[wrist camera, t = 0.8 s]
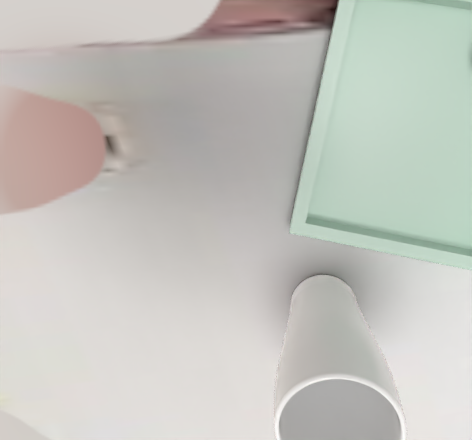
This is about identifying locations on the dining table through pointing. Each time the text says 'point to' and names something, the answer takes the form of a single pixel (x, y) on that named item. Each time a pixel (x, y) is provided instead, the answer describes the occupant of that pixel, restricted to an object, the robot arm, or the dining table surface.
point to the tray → (393, 133)
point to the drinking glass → (333, 371)
